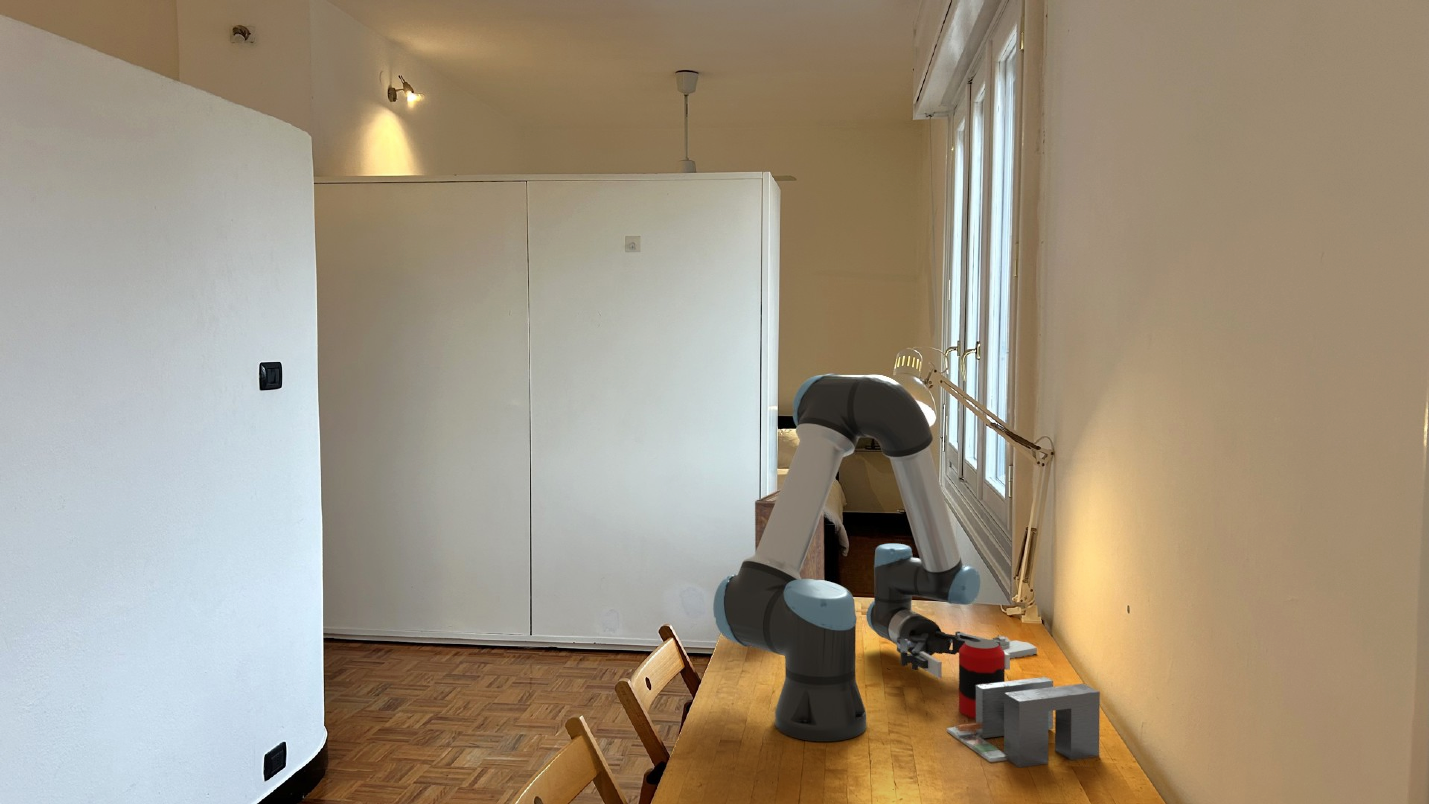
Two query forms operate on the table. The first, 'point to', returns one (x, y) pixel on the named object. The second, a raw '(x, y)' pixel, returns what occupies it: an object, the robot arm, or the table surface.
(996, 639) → the grey flat angular piece
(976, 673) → the soda can
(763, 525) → the book
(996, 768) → the table surface
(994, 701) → the grey block
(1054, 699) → the gauge bed
